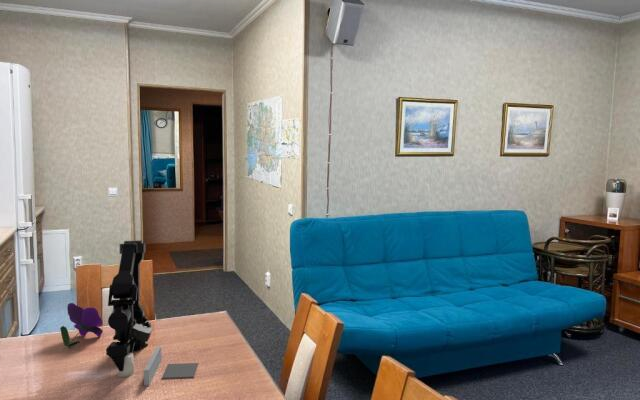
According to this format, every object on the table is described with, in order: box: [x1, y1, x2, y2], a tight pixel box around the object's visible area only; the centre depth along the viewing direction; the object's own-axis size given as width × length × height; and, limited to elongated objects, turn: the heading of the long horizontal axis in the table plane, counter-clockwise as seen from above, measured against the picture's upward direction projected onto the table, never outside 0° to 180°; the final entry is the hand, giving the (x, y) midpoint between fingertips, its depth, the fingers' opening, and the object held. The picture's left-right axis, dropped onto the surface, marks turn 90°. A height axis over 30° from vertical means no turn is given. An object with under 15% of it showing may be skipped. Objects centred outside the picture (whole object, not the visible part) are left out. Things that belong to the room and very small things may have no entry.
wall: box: [143, 346, 162, 386], centre depth 163 cm, size 18×2×5 cm, turn 6°
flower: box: [59, 302, 104, 348], centre depth 186 cm, size 15×15×14 cm
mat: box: [161, 362, 199, 380], centre depth 164 cm, size 10×10×1 cm
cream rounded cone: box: [116, 353, 135, 378], centre depth 162 cm, size 5×5×6 cm
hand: (125, 364), depth 162 cm, fingers open, 9 cm apart
